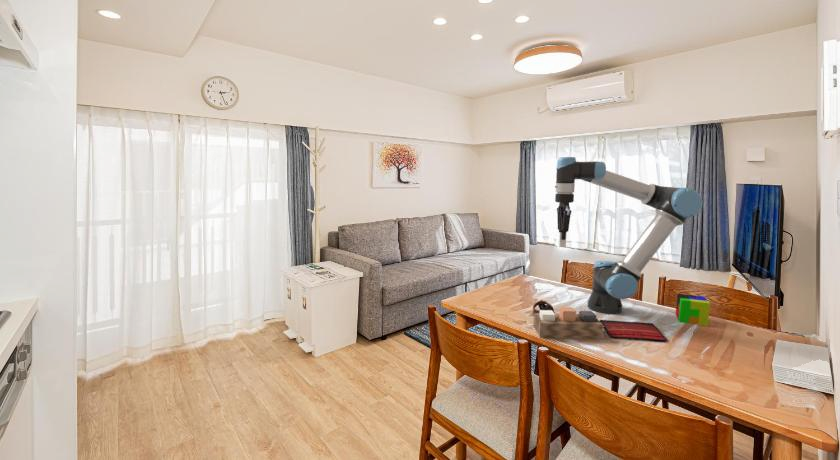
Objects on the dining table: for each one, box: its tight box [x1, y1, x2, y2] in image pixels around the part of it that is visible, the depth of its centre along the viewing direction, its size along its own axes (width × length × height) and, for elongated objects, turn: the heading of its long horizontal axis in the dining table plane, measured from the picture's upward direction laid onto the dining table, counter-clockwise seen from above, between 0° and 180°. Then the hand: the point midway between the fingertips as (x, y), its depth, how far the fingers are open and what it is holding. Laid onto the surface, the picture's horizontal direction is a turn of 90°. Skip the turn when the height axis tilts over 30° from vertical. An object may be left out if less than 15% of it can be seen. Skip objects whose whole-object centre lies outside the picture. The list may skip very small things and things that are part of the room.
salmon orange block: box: [558, 306, 577, 321], centre depth 155 cm, size 5×5×6 cm
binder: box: [599, 319, 668, 343], centre depth 156 cm, size 16×2×21 cm
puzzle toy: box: [675, 293, 711, 327], centre depth 168 cm, size 10×10×10 cm
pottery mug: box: [532, 299, 556, 317], centre depth 175 cm, size 12×10×8 cm
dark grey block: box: [578, 310, 597, 322], centre depth 155 cm, size 5×5×6 cm
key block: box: [533, 312, 604, 340], centre depth 156 cm, size 24×11×6 cm, turn 86°
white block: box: [539, 309, 556, 321], centre depth 156 cm, size 5×5×6 cm
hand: (562, 246), depth 169 cm, fingers closed
